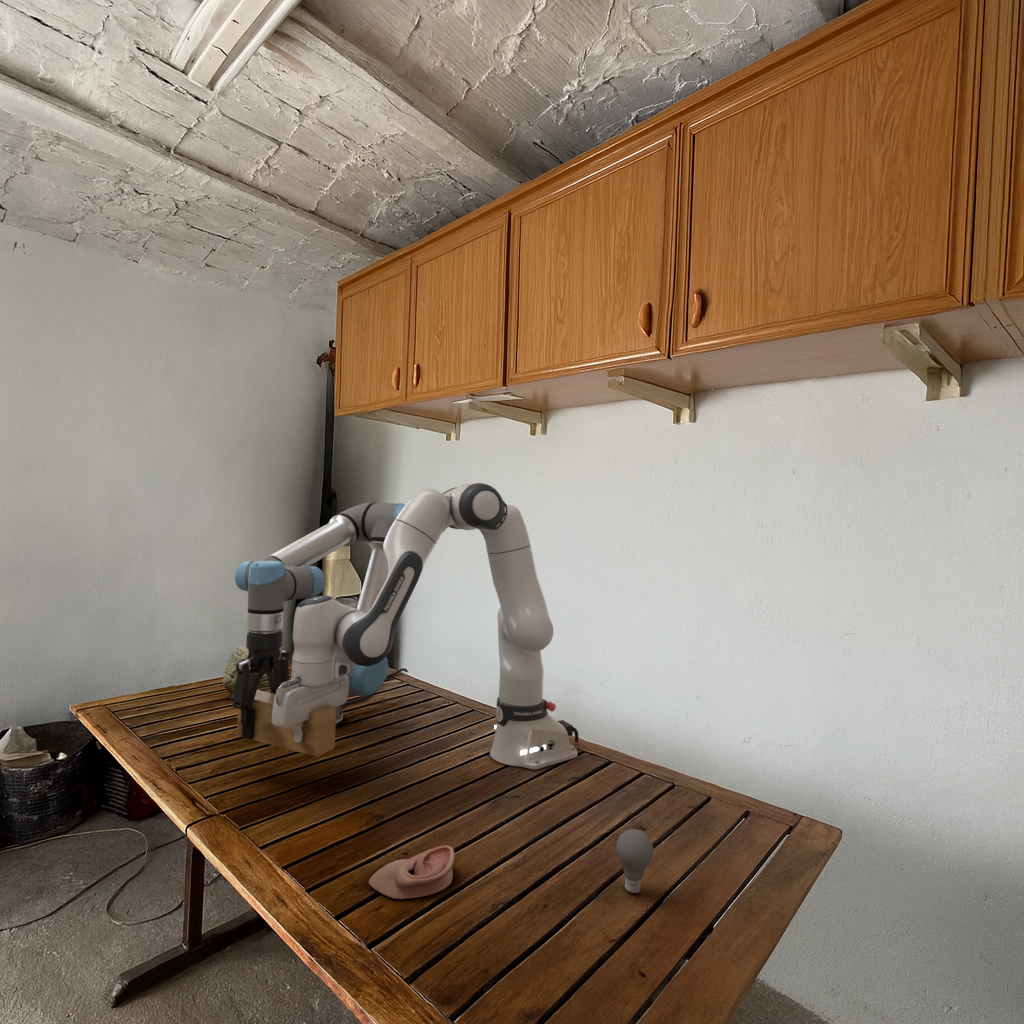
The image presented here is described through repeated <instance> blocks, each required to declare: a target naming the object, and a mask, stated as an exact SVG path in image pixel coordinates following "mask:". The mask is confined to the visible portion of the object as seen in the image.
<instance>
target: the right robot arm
mask: <svg viewBox="0 0 1024 1024" xmlns="http://www.w3.org/2000/svg"><path fill="white" fill-rule="evenodd" d="M448 528H451V529H454V530H463V531H473V530H479V532H480V533H481V534H482V537H483V539H484V542H485V547H486V553H487V560H488V564H489V568H490V574H491V577H492V583H493V586H494V589H495V592H496V595H497V598H498V602H499V605H500V606H499V608H498V610H497V615H496V617H497V619H496V620H497V641H498V642H497V643H498V644H497V645H498V657H499V681H498V682H499V683H498V697H497V698H496V707H495V708H496V709H495V721H496V724H494V725H493V726H494V728H493V729H494V730H495V731H494V736H493V741H492V745H491V748H490V750H489V756H490V758H491V759H493V760H494V761H496V762H498V763H500V764H504V765H507V766H511V767H521V768H526V769H529V770H539V769H543V768H546V767H549V766H552V765H555V764H559V763H563V762H566V761H570V760H572V759H576V758H578V757H579V755H578V750H577V748H576V747H575V746H574V745H573V744H572V743H571V742H570V737H572V736H573V735H574V742H575V743H578V742H579V732H578V731H579V730H578V729H577V728H576V727H574V726H573V724H571V723H569V722H567V721H565V720H563V719H561V720H556V719H555V718H554V717H553V716H552V715H551V714H550V713H549V711H550V712H554V711H556V709H557V705H556V703H554V702H552V701H547V700H546V699H544V698H543V696H544V695H543V694H544V692H543V691H544V666H543V665H544V664H543V660H542V650H544V649H546V648H547V647H548V646H549V645H550V644H551V642H552V641H553V640H552V639H553V637H554V626H553V623H552V619H551V617H550V613H549V610H548V607H547V603H546V600H545V596H544V593H543V590H542V587H541V584H540V582H539V578H538V575H537V571H536V564H535V560H534V555H533V551H532V550H533V549H532V544H531V540H530V536H529V533H528V528H527V527H526V523H525V520H524V517H523V514H522V513H521V511H520V509H519V508H518V507H516V506H515V505H511V504H507V503H506V502H505V501H504V499H503V497H502V496H501V494H500V492H499V491H498V490H497V489H496V488H494V487H493V486H491V485H490V484H487V483H482V482H476V483H465V484H462V485H459V486H455V487H452V488H450V489H448V490H446V491H444V492H440V491H438V490H436V489H433V488H422V489H419V490H418V491H417V492H416V493H414V495H413V496H412V497H410V499H409V500H408V502H407V503H406V505H405V506H404V508H403V509H402V510H401V512H400V513H399V515H398V516H397V518H396V519H395V521H394V522H393V524H392V526H391V527H390V529H389V531H388V533H387V535H386V538H385V540H384V543H383V551H384V555H385V557H386V559H387V563H388V575H387V579H386V581H385V583H384V585H383V587H382V589H381V590H380V592H379V594H378V596H377V598H376V600H375V602H374V604H373V606H372V608H371V609H370V610H369V612H368V613H366V612H364V611H362V610H359V609H357V608H355V607H351V606H348V605H346V604H343V603H341V602H340V601H338V600H336V599H335V598H334V597H333V596H331V595H316V596H313V597H310V598H304V599H303V600H301V601H300V602H299V603H298V604H297V606H296V608H295V613H294V616H293V617H294V618H293V628H292V642H293V648H294V649H293V653H292V656H291V674H290V675H291V676H290V678H291V679H289V681H285V682H283V683H282V684H281V686H280V687H279V688H278V689H277V691H276V695H275V698H274V703H273V710H272V724H273V725H274V726H275V727H278V728H282V729H287V728H290V727H291V729H292V731H293V733H294V741H295V742H298V743H300V742H302V741H304V740H305V732H302V730H301V727H302V726H303V721H306V720H308V719H309V716H310V711H313V710H315V709H318V708H320V707H323V706H325V705H330V706H335V707H338V706H340V705H343V704H345V703H346V702H348V701H347V700H348V698H349V694H348V691H349V678H348V675H347V674H348V673H349V665H348V664H345V663H340V662H336V661H335V655H336V653H339V652H344V653H345V654H346V655H347V656H348V658H349V659H350V660H351V661H352V662H353V663H355V664H357V665H360V666H372V665H375V664H377V663H379V662H381V661H382V660H383V659H384V658H385V657H386V658H387V657H388V655H389V653H390V652H391V650H392V647H393V645H394V639H395V634H396V629H397V625H398V623H399V621H400V619H401V617H402V615H403V613H404V610H405V608H406V606H407V604H408V602H409V600H410V598H411V596H412V594H413V592H414V591H415V589H416V586H417V585H418V582H419V579H420V577H421V575H422V572H423V569H424V566H425V565H426V563H427V561H428V559H429V557H430V555H431V553H432V551H433V550H434V549H435V547H436V545H437V543H438V541H439V540H440V538H441V536H442V534H443V533H444V532H445V531H446V530H447V529H448ZM281 687H282V688H281Z"/></svg>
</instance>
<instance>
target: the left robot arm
mask: <svg viewBox="0 0 1024 1024" xmlns="http://www.w3.org/2000/svg"><path fill="white" fill-rule="evenodd" d="M406 504H407V503H406ZM406 504H405V503H401V502H398V503H391V502H375V501H373V502H371V501H369V502H364V503H360V504H357V505H355V506H352V507H350V508H347V509H346V510H344V511H341V512H339V513H338V514H336V515H334V516H332V517H331V518H330V520H329V521H328V523H327V524H325V525H323V526H321V527H319V528H318V529H316V530H314V531H312V532H310V533H308V534H306V535H304V536H303V537H301V538H299V539H297V540H296V541H294V542H292V543H290V544H288V545H286V546H285V547H283V548H281V549H278V550H277V551H275V552H274V553H272V554H270V555H268V556H266V557H264V558H263V559H261V560H251V561H249V560H248V561H244V562H242V563H240V564H239V565H238V566H237V568H236V570H235V572H234V582H235V585H236V586H237V588H238V589H240V590H241V591H243V592H247V617H246V618H247V619H246V630H247V632H246V643H245V644H246V645H245V646H246V647H247V649H248V651H249V654H248V657H247V660H245V661H243V662H237V663H236V669H237V677H236V685H235V693H234V698H233V702H232V708H234V709H237V710H238V709H241V724H242V737H241V738H242V739H246V738H247V740H250V741H253V740H252V739H254V719H255V709H253V708H252V705H253V702H254V699H255V695H256V692H257V689H258V685H259V682H260V679H261V678H262V677H263V675H264V673H266V674H267V678H268V681H269V685H270V689H271V692H272V693H274V694H276V691H277V689H278V688H279V687H280V686H281V684H282V683H283V682H285V681H289V680H290V669H289V668H290V667H289V661H290V655H291V653H290V651H287V650H282V649H281V648H282V647H283V631H282V629H283V627H284V611H285V610H284V609H285V602H288V601H289V602H290V601H295V600H301V599H307V598H310V597H315V596H319V595H320V594H321V593H322V592H323V590H324V588H325V582H326V579H325V574H324V572H323V571H322V569H321V568H319V567H317V566H315V565H314V564H315V563H317V562H318V561H320V560H322V559H324V558H325V557H327V556H328V555H330V554H333V553H334V552H335V551H337V550H338V549H340V548H342V547H350V546H352V545H354V544H356V543H361V542H368V546H369V547H370V549H371V555H370V557H369V562H368V566H367V569H366V573H365V577H364V581H363V584H362V586H361V587H362V589H361V591H360V594H359V598H358V602H357V606H356V609H359V610H362V611H364V612H366V613H368V612H369V610H370V609H371V608H372V606H373V604H374V602H375V600H376V598H377V596H378V594H379V592H380V590H381V589H382V587H383V585H384V583H385V581H386V579H387V575H388V563H387V559H386V557H385V555H384V551H383V543H384V540H385V538H386V535H387V533H388V531H389V529H390V527H391V526H392V524H393V522H394V521H395V519H396V518H397V516H398V515H399V513H400V512H401V510H402V509H403V508H404V506H405V505H406ZM335 661H336V662H340V663H345V664H348V665H349V673H348V674H347V675H348V678H349V691H348V695H350V696H355V697H358V696H359V697H360V698H356V699H352V700H348V701H346V703H345V704H343V705H340V706H338V707H336V727H335V728H337V727H339V726H340V725H342V723H343V722H344V713H343V709H342V707H344V706H348V705H351V704H356V703H359V702H362V701H364V700H367V699H368V698H369V697H371V696H372V695H374V694H376V693H377V691H379V690H380V689H381V687H382V686H383V685H384V683H385V681H386V679H388V678H392V677H395V676H396V675H398V674H400V673H401V672H405V673H409V671H408V669H407V668H404V667H401V668H399V669H398V670H396V671H394V672H392V673H389V664H388V663H389V660H388V658H387V656H386V657H385V658H384V659H383V660H382V661H381V662H379V663H377V664H375V665H372V666H360V665H357V664H355V663H353V662H352V661H351V660H350V659H349V658H348V656H347V655H346V654H345V653H344V652H339V653H336V655H335ZM254 672H255V673H258V674H254ZM388 673H389V674H388ZM281 688H282V687H281ZM246 702H247V704H246Z"/></svg>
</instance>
